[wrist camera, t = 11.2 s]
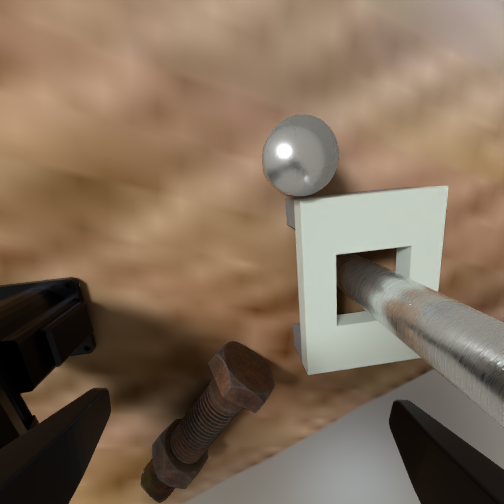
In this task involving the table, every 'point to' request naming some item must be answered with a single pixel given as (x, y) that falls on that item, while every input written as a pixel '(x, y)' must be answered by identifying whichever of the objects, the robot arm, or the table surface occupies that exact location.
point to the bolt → (207, 419)
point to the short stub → (300, 155)
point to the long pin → (432, 328)
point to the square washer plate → (358, 240)
